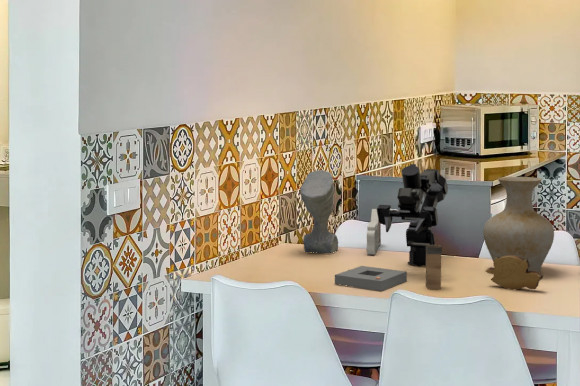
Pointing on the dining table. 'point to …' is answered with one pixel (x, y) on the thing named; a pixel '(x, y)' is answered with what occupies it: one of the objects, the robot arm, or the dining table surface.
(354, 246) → the dining table surface
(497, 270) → the wooden carving
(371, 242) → the decorative sign
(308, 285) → the dining table surface
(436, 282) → the plug
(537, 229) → the vase
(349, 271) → the socket
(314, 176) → the sculpture
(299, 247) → the dining table surface
